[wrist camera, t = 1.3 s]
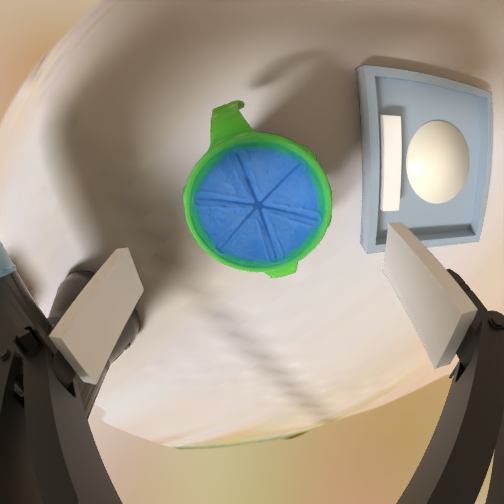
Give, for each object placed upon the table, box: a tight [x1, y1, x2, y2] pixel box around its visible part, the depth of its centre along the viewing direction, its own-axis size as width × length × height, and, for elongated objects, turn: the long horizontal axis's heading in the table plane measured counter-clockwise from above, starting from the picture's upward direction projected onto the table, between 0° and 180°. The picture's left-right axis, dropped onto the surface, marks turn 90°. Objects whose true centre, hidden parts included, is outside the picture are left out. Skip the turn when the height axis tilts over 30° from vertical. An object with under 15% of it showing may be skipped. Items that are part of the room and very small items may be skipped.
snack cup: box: [183, 101, 332, 278], centre depth 23 cm, size 16×10×10 cm
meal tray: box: [356, 65, 493, 254], centre depth 24 cm, size 18×20×3 cm
